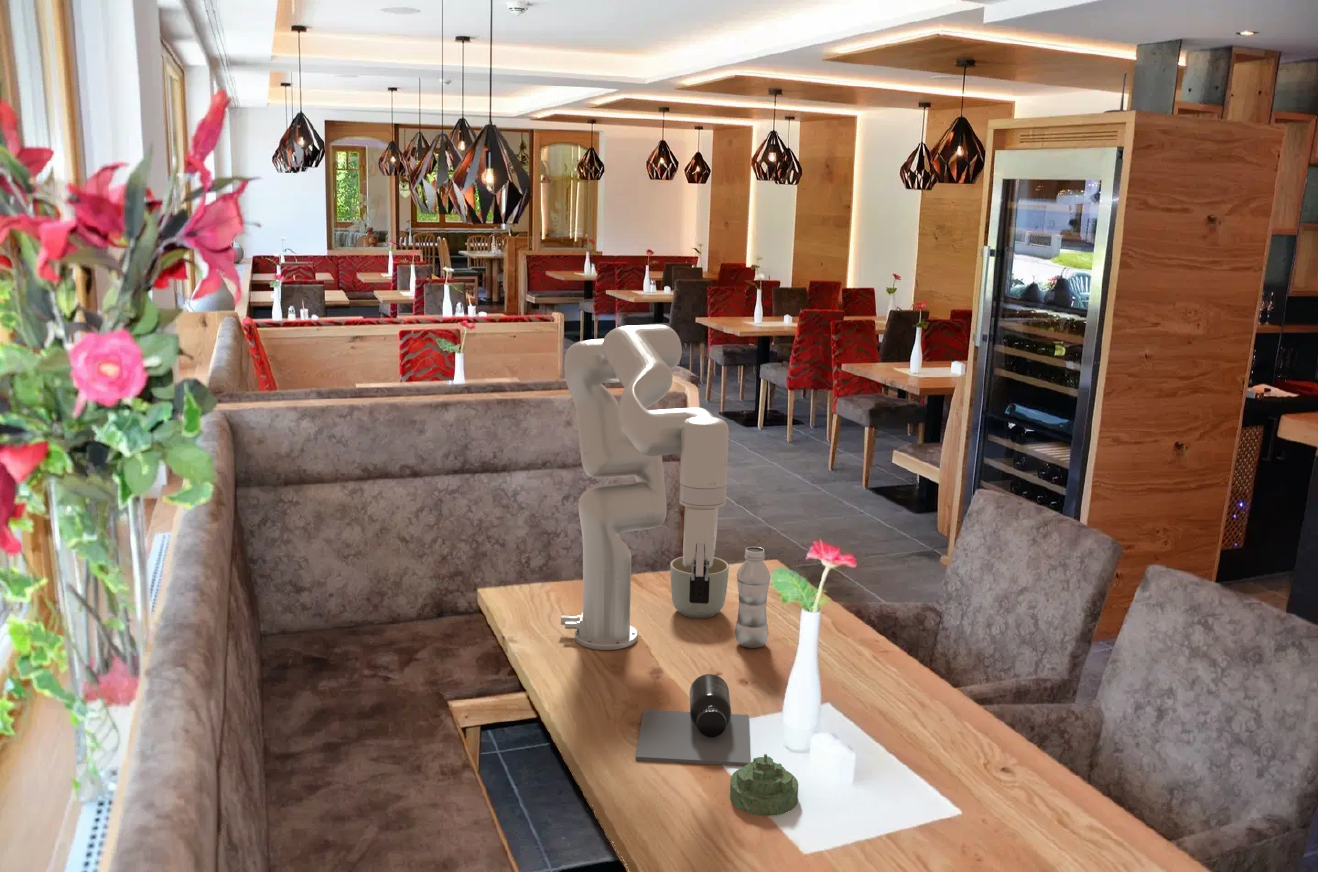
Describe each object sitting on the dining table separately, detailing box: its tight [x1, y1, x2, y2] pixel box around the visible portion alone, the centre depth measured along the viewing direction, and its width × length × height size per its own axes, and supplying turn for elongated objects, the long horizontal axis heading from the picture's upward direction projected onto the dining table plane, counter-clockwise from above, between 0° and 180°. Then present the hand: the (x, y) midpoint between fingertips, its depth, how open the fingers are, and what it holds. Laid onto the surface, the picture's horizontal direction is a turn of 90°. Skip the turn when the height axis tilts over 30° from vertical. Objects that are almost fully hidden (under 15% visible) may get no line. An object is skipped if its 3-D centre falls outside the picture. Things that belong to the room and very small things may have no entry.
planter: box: [669, 556, 730, 619], centre depth 228 cm, size 12×12×11 cm
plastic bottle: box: [734, 546, 771, 649], centre depth 210 cm, size 6×7×20 cm
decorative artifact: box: [729, 753, 799, 817], centre depth 158 cm, size 10×7×10 cm
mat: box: [635, 709, 751, 767], centre depth 175 cm, size 18×16×1 cm
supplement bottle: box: [689, 673, 732, 738], centre depth 177 cm, size 7×7×12 cm
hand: (699, 601), depth 175 cm, fingers closed
